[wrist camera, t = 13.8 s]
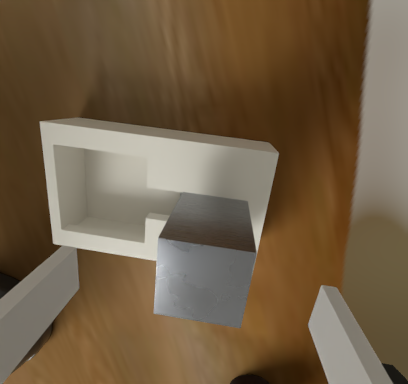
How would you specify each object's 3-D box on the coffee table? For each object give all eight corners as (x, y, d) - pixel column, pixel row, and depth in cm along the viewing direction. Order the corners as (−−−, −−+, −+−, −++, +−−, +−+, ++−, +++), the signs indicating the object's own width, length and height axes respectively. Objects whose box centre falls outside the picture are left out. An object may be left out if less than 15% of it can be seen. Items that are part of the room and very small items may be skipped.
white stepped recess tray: (84, 219, 31) (53, 243, 25) (78, 117, 26) (39, 121, 21) (248, 244, 29) (251, 276, 24) (269, 142, 25) (279, 153, 20)
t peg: (180, 219, 28) (136, 323, 15) (186, 158, 25) (139, 217, 12) (243, 229, 28) (255, 344, 14) (254, 167, 25) (281, 238, 12)
